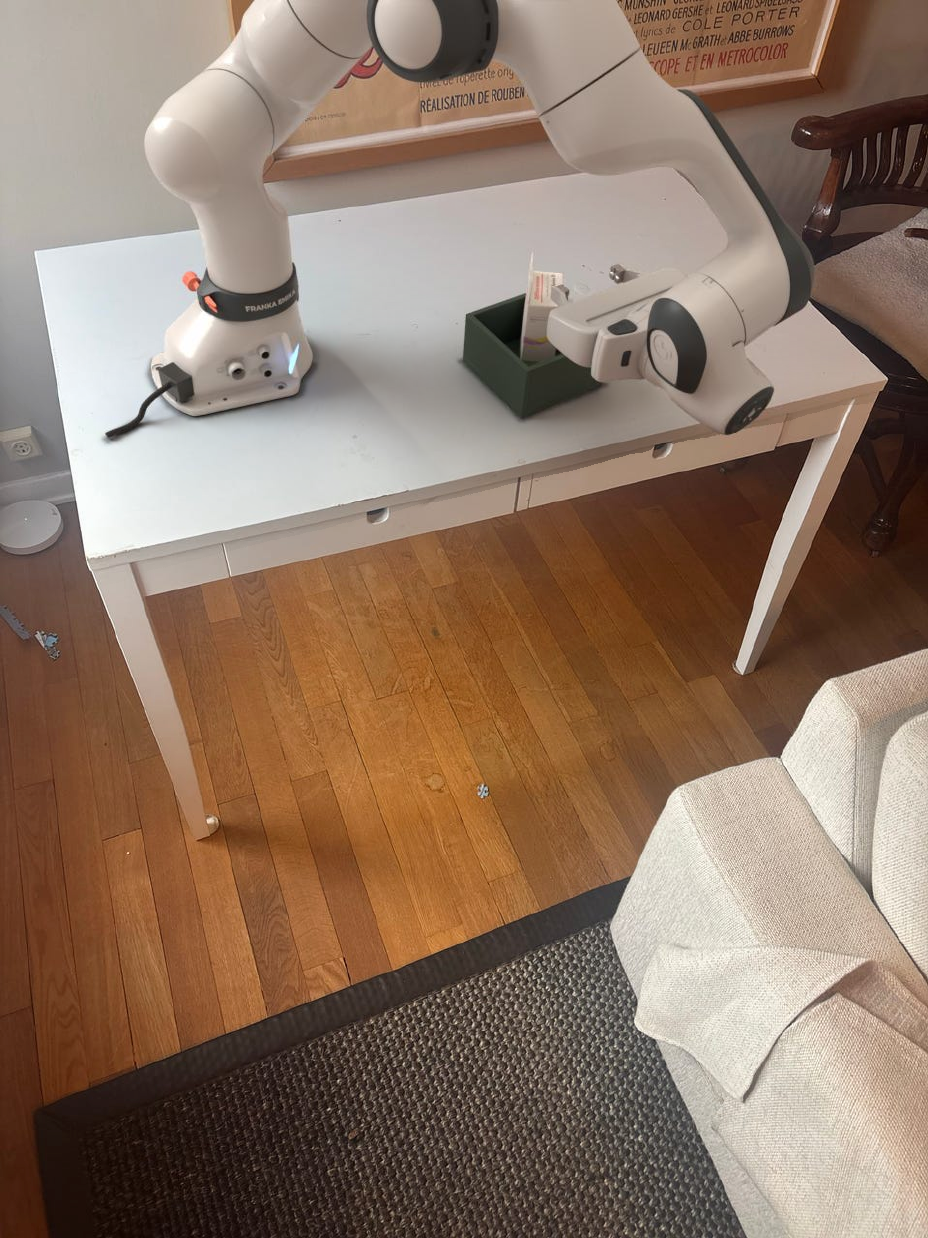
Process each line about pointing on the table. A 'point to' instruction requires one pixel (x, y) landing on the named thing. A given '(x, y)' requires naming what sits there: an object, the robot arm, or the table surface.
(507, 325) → the open storage bin
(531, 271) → the ink box
